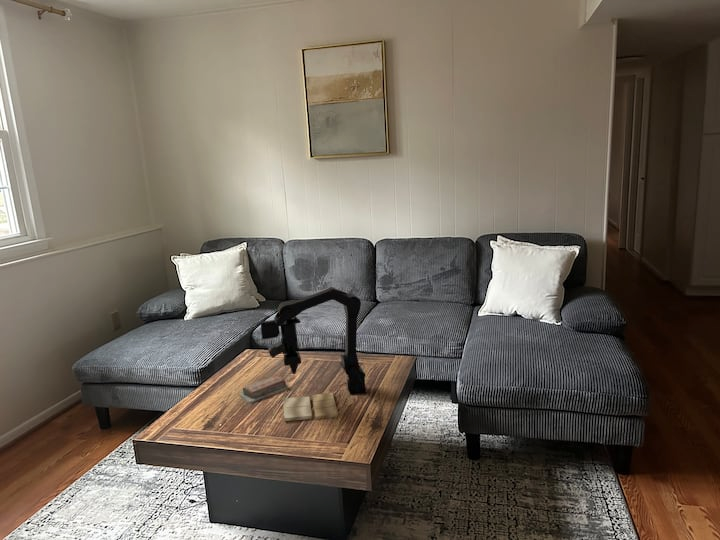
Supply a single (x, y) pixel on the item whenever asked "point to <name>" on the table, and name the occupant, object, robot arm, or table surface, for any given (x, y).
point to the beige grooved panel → (297, 408)
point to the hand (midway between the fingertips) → (294, 373)
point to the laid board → (324, 406)
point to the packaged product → (263, 389)
